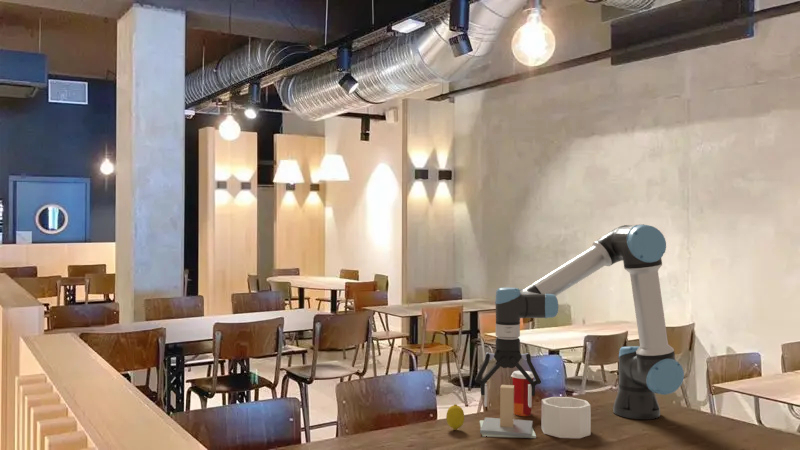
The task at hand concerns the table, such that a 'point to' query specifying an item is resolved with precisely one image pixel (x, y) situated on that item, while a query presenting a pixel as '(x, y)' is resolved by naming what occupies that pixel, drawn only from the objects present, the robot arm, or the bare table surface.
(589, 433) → the bowl
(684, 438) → the table surface
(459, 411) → the lemon
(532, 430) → the mat
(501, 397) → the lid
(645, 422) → the table surface
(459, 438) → the table surface
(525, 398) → the paper cup
